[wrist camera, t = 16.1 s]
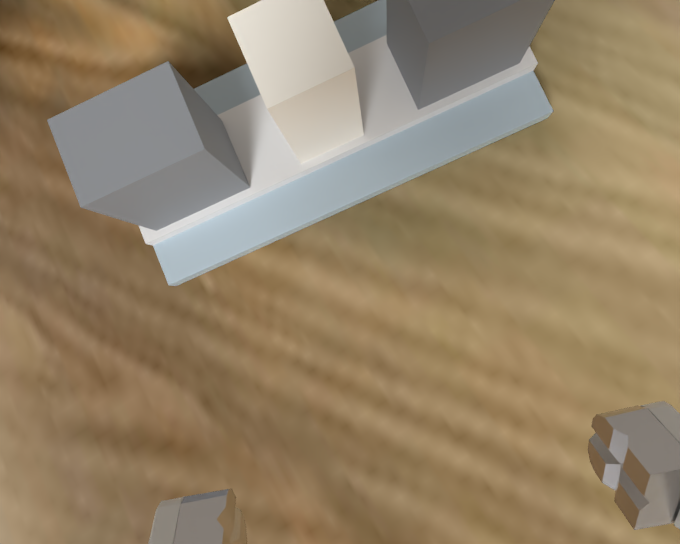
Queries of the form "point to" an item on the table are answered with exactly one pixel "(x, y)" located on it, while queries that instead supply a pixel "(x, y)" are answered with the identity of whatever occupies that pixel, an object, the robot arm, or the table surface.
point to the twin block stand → (273, 149)
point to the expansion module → (301, 73)
